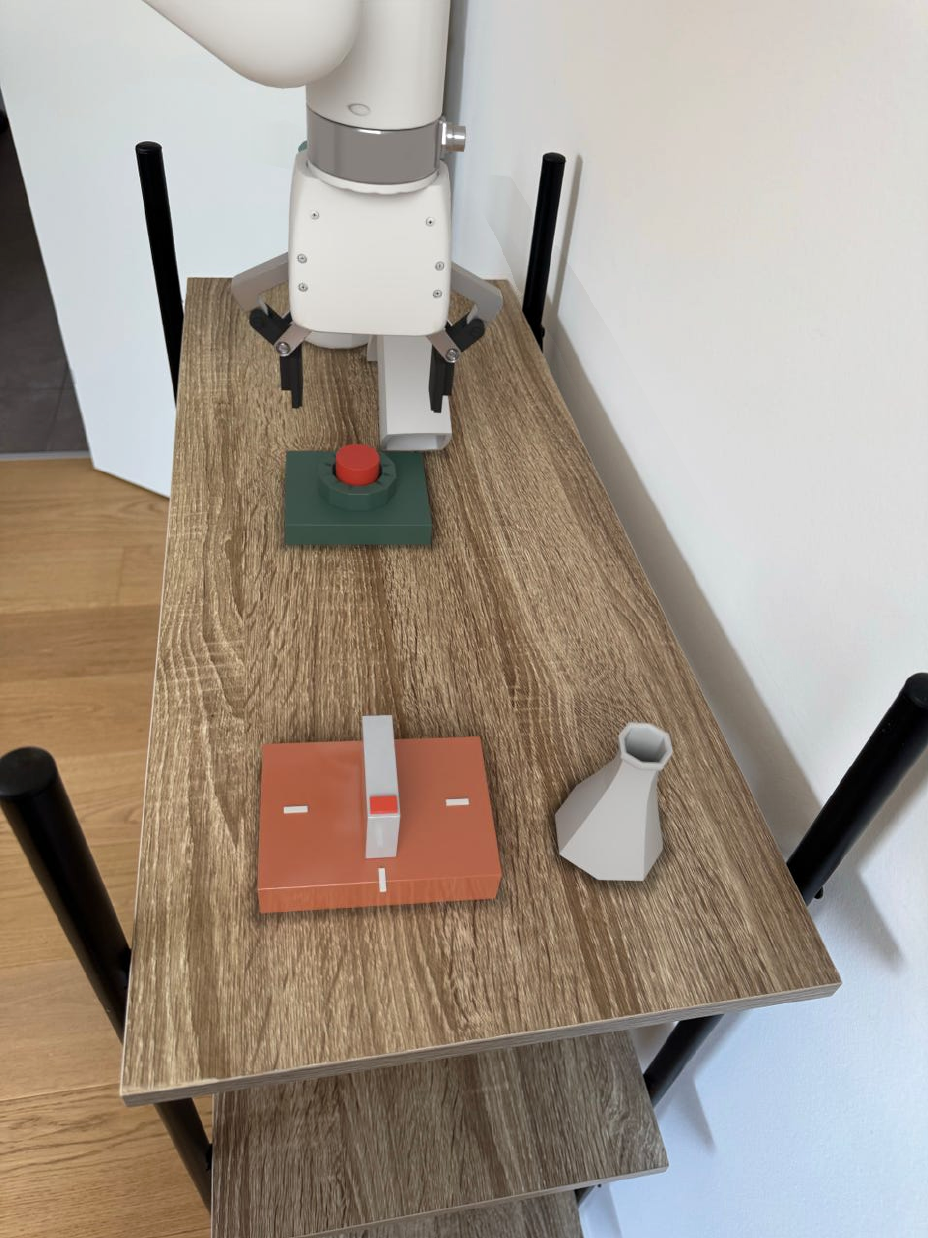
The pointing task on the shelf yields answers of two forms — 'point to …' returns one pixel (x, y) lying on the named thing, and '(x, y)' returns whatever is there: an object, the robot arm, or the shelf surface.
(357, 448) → the button
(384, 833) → the tap handle
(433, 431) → the faucet
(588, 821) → the flask
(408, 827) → the panel
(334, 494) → the button block
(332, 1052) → the shelf surface
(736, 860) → the shelf surface
